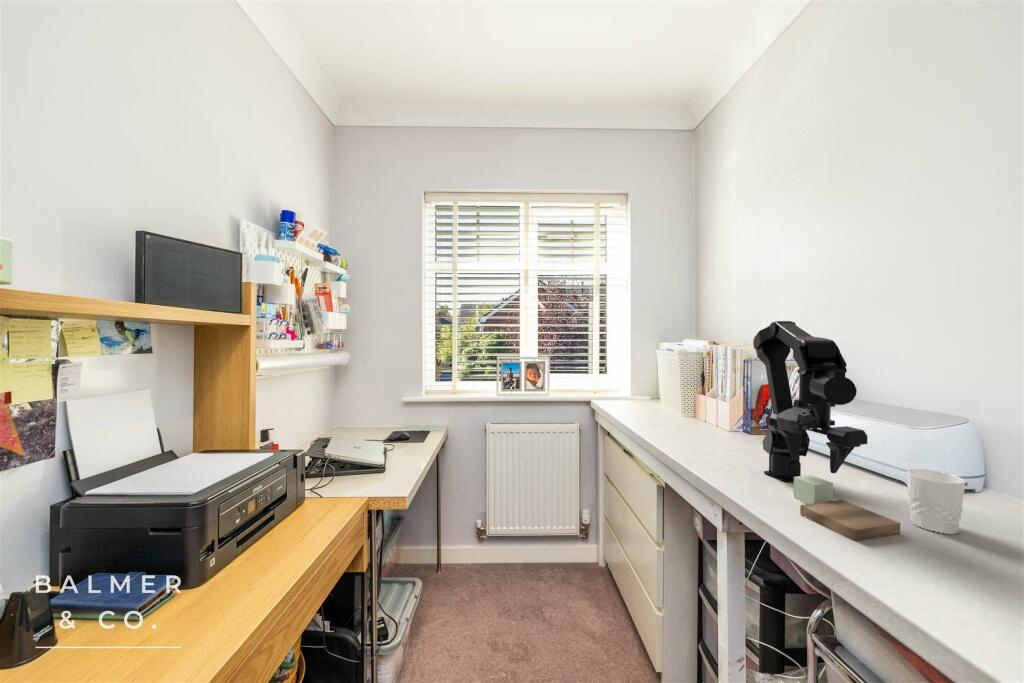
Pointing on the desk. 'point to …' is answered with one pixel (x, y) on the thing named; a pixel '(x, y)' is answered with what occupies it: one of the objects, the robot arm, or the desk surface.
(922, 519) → the white cup
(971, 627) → the desk surface
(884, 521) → the base slab
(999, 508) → the desk surface
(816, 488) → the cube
